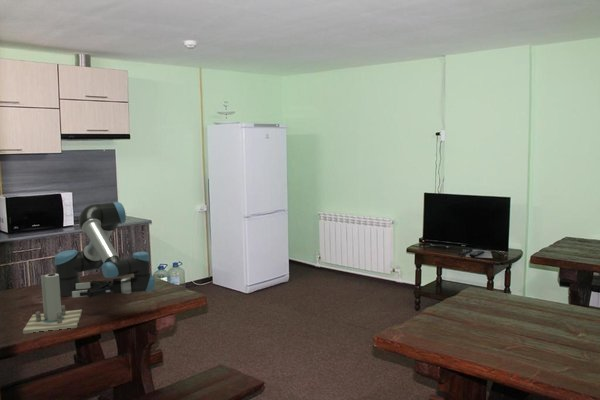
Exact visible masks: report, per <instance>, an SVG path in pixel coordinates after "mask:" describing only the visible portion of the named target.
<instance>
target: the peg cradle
mask: <svg viewBox="0 0 600 400" xmlns="http://www.w3.org/2000/svg"><path fill="white" fill-rule="evenodd" d="M61 311H62V313H57V320H56V321H49V320H48V318H47V319H44V313H41V311H40V310H36V311H35V314H32V315H31V317H30V319H28V322H27V323H26V325H25V327H24V328H23V329H22V334H23V335H25V334H33V332H36V333H40V332H39V331H44V332H49V331H48V330H53V331H58V330H59V329H62V330H67V328H71V329H77V328H78V326H79V323H80V320H81V318H82V317H81V316H82V313H83V309H74V310H66V305H65V304H61Z"/></svg>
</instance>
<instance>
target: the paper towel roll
mask: <svg viewBox="0 0 600 400" xmlns="http://www.w3.org/2000/svg"><path fill="white" fill-rule="evenodd" d="M40 281H41V282H40V283H41V295H42V309H43V310H42V311H43V314H44V319H47V318H48V320H49V321H56V320H57V313H62V311H61V305H62V301H61V300H62V299H61V297H62V296H60V284H59V274H56V273H47V274H42V275H40Z"/></svg>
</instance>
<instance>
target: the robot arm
mask: <svg viewBox="0 0 600 400" xmlns="http://www.w3.org/2000/svg"><path fill="white" fill-rule="evenodd" d="M126 214H127V213H126V209H125V207H124V205H123V204H122V203H121V202H119V201H115V202H114V201H113V202H105V203H97V204H89V205H88V206H86V207H85V208H84V209H82V210H81V213H80V215H79V218H78V222H79V223H78V224H79V228H80V229H81V231H82V232H83V233H84V234H86V235H87V238H88V239H89V244H87V245H86V246H85V247H84V249H83V250H81V251H77V250H76V249H70V250H69V249H67V250H64V251H60V252H59V253H58V252H57V253H56V254H55V256H54V268H55V274H59V284H60V297H71V296H72V297H71V298H80V297H81V298H82V297H88V298H93V297H98V296H102V295H108V294H109V295H110V294H111V292H112V294H113V295H121V294H127V295H130V294H131V293H132V294H133V293H142V292H143V293H146V292H151V291H154V290H155V288H156V285H155V284H156V282H155V275H153V274H151V272H150V271H151V270H150V266H151V265H150V264H151V263H150V255H149V253H148V252H147V251H137V252H133V254H132V257H129V258H125V259H121V258H120V256H119V255H118V252H117V251H116V249H115V248H114V246H113V245H112V242H111V240H109V239H110V237H111V235H112V233H113V231H115V230H117V228H118V226H119V225H120V224H121V225H122V224H124V223H125V222H126V220H127V215H126ZM99 269H101V272H102V275H103V277H104V278H105V279H112V280H92V281H89V282H81V280H80V275H79V273H83V272H89V271H94V270H99ZM127 275H133V276H131V277H130V276H128V277H123V276H127ZM120 277H122V278H120Z"/></svg>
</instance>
